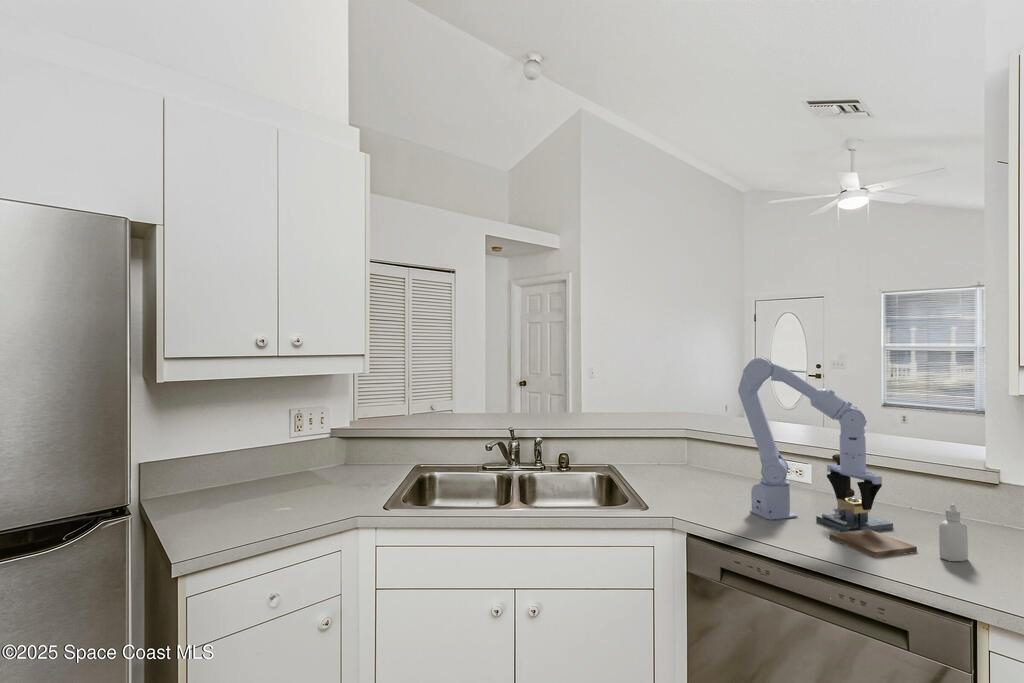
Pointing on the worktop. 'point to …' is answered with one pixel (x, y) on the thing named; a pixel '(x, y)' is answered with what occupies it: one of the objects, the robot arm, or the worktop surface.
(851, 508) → the collar
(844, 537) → the board
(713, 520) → the worktop surface
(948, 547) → the eye dropper bottle
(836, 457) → the bolt
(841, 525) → the vise
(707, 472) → the worktop surface
